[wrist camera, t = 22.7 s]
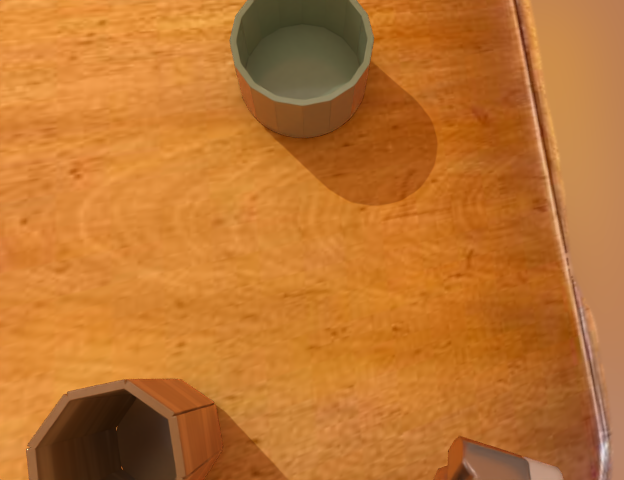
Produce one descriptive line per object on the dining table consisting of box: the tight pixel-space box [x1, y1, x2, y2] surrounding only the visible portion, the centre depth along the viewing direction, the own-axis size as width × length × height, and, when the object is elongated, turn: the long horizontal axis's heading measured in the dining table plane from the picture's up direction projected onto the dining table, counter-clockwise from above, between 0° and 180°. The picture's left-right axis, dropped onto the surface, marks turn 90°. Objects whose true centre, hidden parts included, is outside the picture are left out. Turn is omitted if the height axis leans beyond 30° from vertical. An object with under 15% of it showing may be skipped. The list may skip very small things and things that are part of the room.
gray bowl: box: [230, 0, 374, 138], centre depth 38 cm, size 9×9×5 cm
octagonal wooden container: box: [26, 379, 223, 480], centre depth 30 cm, size 6×6×11 cm
